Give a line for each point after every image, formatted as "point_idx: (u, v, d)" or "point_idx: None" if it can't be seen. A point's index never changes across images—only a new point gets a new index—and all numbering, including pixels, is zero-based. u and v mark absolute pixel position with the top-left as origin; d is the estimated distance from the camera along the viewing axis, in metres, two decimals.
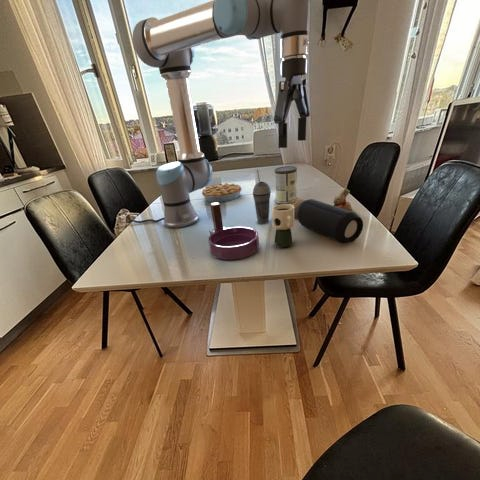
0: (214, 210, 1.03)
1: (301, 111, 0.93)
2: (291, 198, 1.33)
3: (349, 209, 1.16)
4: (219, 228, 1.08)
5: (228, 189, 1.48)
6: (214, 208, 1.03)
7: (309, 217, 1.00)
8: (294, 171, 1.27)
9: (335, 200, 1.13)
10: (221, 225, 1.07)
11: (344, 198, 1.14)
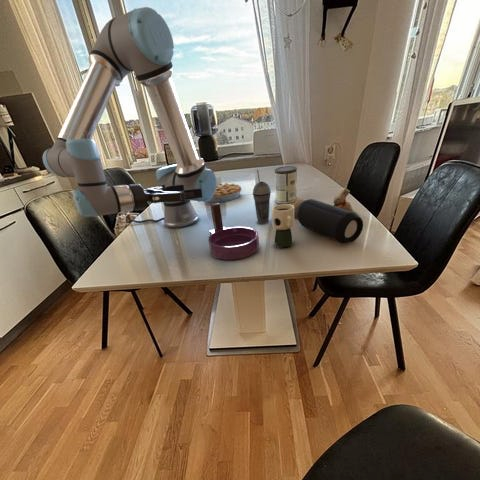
0: (214, 210, 1.03)
1: None
2: (291, 197, 1.33)
3: (349, 209, 1.16)
4: (219, 228, 1.08)
5: (228, 189, 1.48)
6: (214, 208, 1.03)
7: (309, 217, 1.00)
8: (294, 171, 1.27)
9: (335, 200, 1.13)
10: (221, 225, 1.07)
11: (344, 198, 1.14)
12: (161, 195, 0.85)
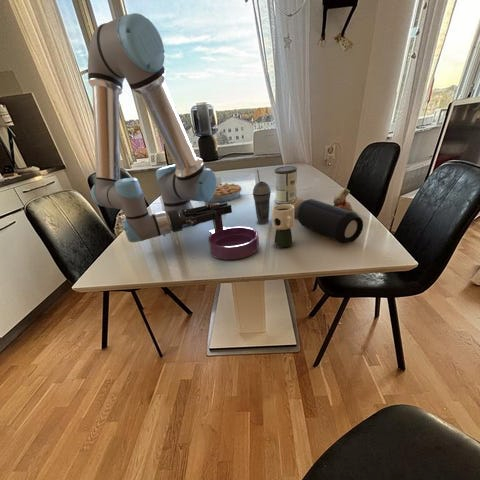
0: None
1: None
2: (291, 197, 1.33)
3: (349, 209, 1.16)
4: (219, 228, 1.08)
5: (228, 189, 1.48)
6: None
7: (309, 217, 1.00)
8: (294, 171, 1.27)
9: (335, 200, 1.13)
10: (221, 225, 1.07)
11: (344, 198, 1.14)
12: (198, 218, 0.98)
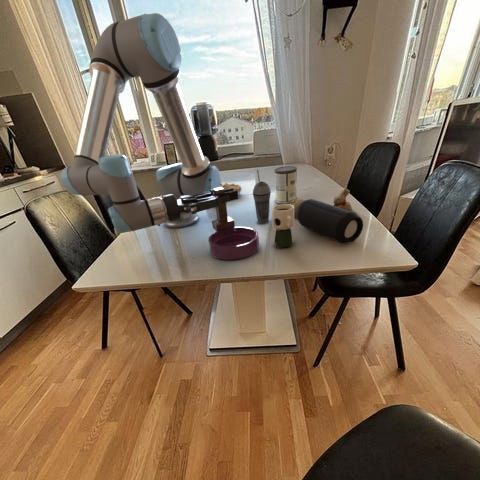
0: None
1: None
2: (291, 197, 1.33)
3: (349, 209, 1.16)
4: (223, 218, 0.92)
5: None
6: (217, 194, 0.87)
7: (309, 217, 1.00)
8: (294, 171, 1.27)
9: (335, 200, 1.13)
10: (225, 214, 0.92)
11: (344, 198, 1.14)
12: (199, 204, 0.83)
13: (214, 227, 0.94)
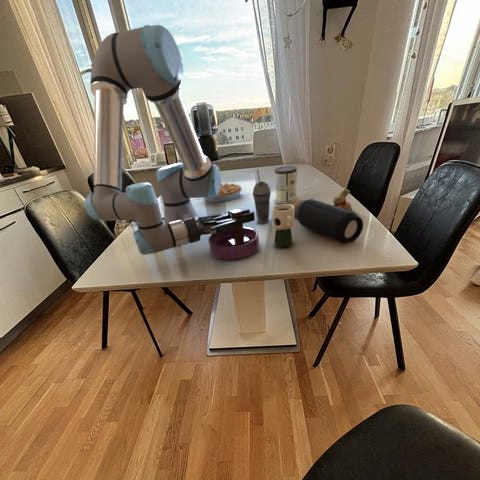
0: None
1: None
2: (291, 197, 1.33)
3: (349, 209, 1.16)
4: (240, 238, 0.97)
5: (228, 189, 1.48)
6: None
7: (309, 217, 1.00)
8: (294, 171, 1.27)
9: (335, 200, 1.13)
10: (242, 234, 0.96)
11: (344, 198, 1.14)
12: (218, 227, 0.87)
13: None
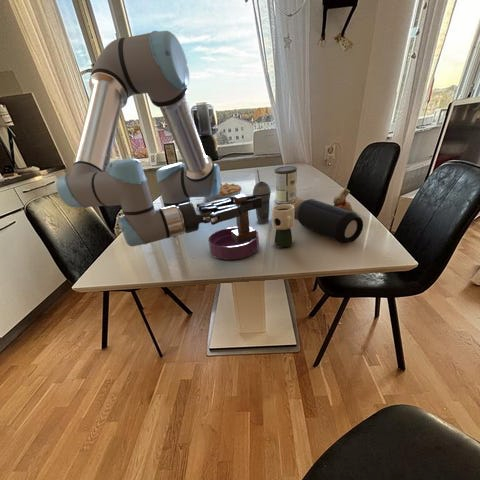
0: None
1: None
2: (291, 197, 1.33)
3: (349, 209, 1.16)
4: (244, 228, 0.83)
5: (228, 189, 1.48)
6: (239, 201, 0.78)
7: (309, 217, 1.00)
8: (294, 171, 1.27)
9: (335, 200, 1.13)
10: (247, 224, 0.83)
11: (344, 198, 1.14)
12: (220, 214, 0.73)
13: (234, 238, 0.85)
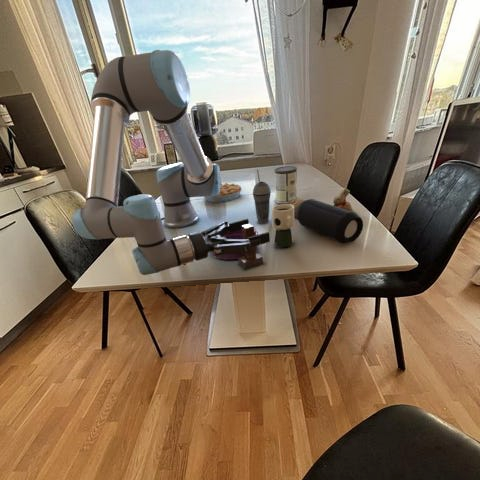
0: (247, 234, 0.82)
1: None
2: (291, 197, 1.33)
3: (349, 209, 1.16)
4: (251, 255, 0.87)
5: (228, 189, 1.48)
6: (247, 231, 0.82)
7: (309, 217, 1.00)
8: (294, 171, 1.27)
9: (335, 200, 1.13)
10: (254, 251, 0.86)
11: (344, 198, 1.14)
12: (224, 247, 0.75)
13: (241, 264, 0.89)
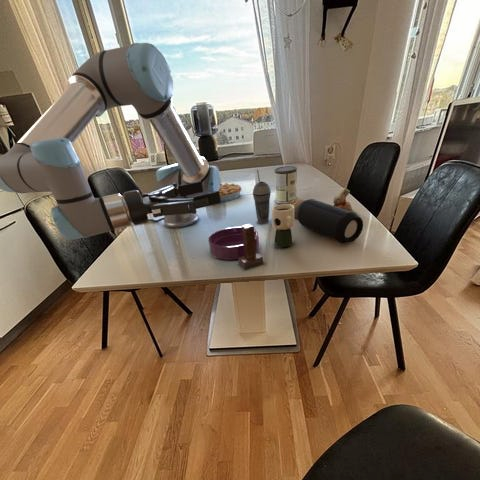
0: (247, 234, 0.82)
1: None
2: (291, 197, 1.33)
3: (349, 209, 1.16)
4: (251, 255, 0.87)
5: (228, 189, 1.48)
6: (247, 231, 0.82)
7: (309, 217, 1.00)
8: (294, 171, 1.27)
9: (335, 200, 1.13)
10: (254, 251, 0.86)
11: (344, 198, 1.14)
12: (163, 207, 0.63)
13: (241, 264, 0.89)
